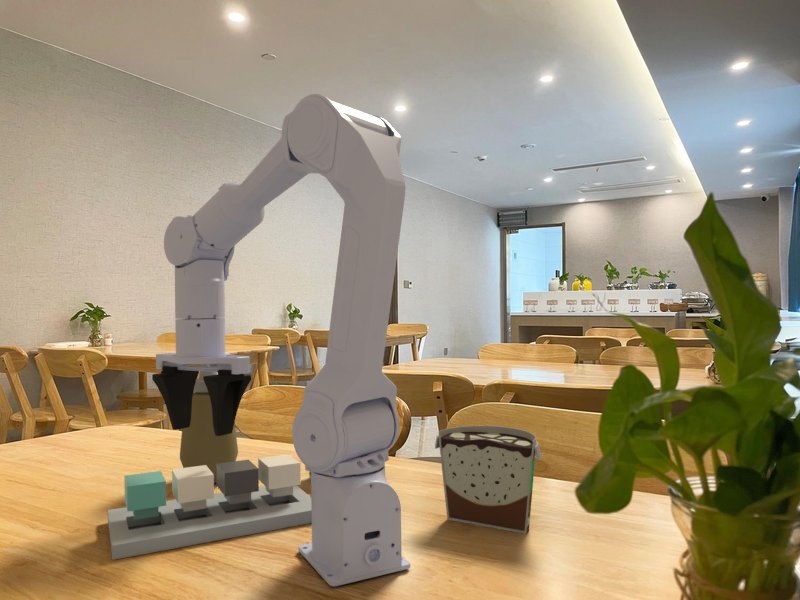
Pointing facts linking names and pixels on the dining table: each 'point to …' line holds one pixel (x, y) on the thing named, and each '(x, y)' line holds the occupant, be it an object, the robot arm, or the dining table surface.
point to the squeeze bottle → (205, 434)
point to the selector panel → (205, 522)
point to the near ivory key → (279, 474)
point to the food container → (488, 475)
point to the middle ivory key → (192, 487)
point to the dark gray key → (237, 480)
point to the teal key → (145, 494)
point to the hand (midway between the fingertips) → (201, 431)
